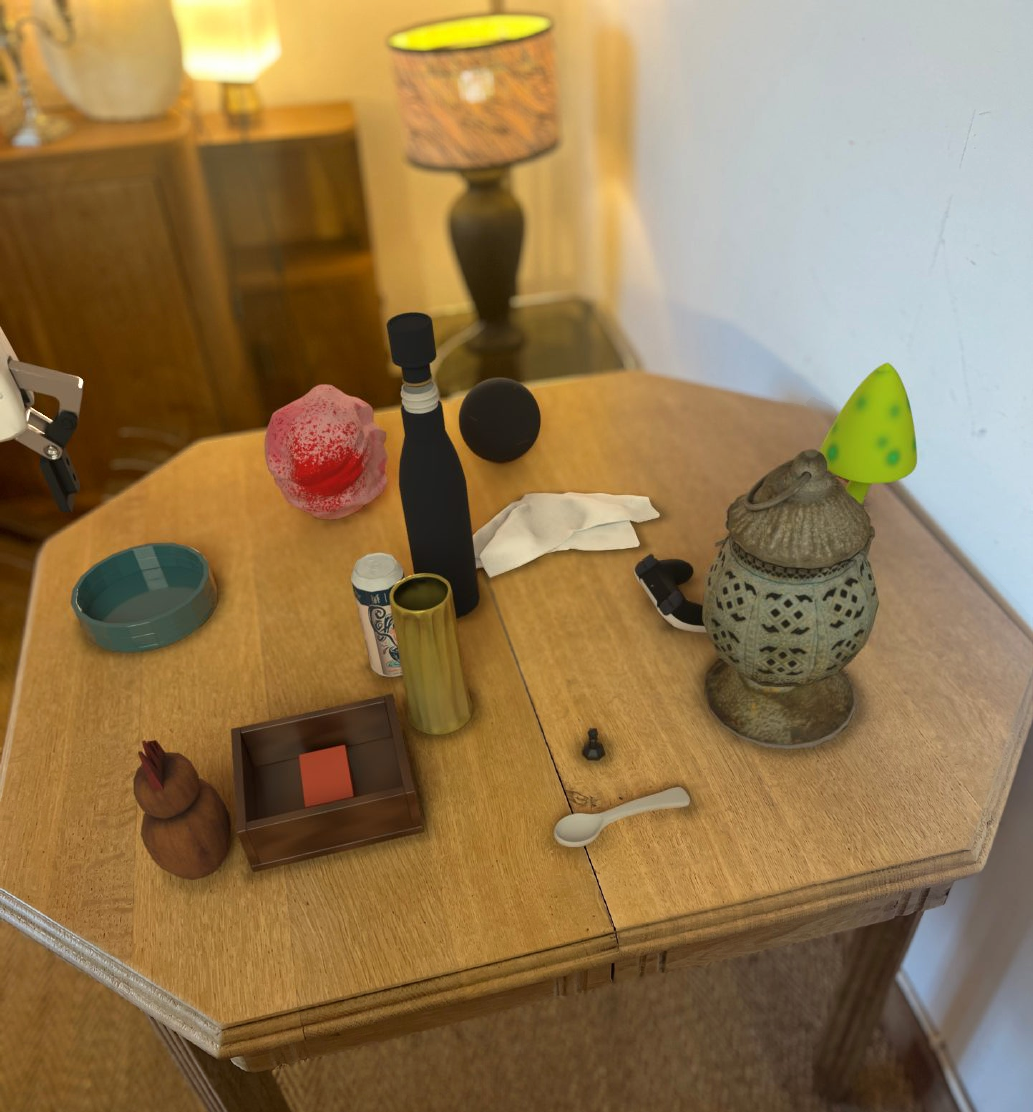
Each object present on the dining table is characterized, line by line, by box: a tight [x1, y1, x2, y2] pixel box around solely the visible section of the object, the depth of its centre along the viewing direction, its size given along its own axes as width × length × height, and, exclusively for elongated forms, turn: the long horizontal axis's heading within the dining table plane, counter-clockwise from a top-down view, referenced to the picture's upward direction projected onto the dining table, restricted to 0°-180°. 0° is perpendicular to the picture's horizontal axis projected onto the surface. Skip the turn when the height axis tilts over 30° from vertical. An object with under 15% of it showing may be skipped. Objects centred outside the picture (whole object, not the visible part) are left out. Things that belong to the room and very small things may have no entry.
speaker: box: [458, 377, 542, 464], centre depth 119 cm, size 10×10×10 cm
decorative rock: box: [264, 383, 389, 520], centre depth 112 cm, size 19×14×15 cm
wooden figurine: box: [132, 739, 231, 881], centre depth 75 cm, size 7×6×15 cm
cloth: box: [472, 491, 661, 579], centre depth 110 cm, size 26×14×2 cm, turn 102°
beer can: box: [350, 552, 406, 678], centre depth 92 cm, size 5×5×12 cm
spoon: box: [553, 786, 691, 848], centre depth 80 cm, size 3×12×2 cm, turn 111°
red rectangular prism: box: [299, 745, 356, 809], centre depth 83 cm, size 6×4×2 cm, turn 14°
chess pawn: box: [581, 727, 606, 762], centre depth 85 cm, size 2×2×3 cm
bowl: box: [70, 542, 219, 653], centre depth 104 cm, size 14×14×4 cm
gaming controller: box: [633, 553, 707, 634], centre depth 98 cm, size 11×4×7 cm
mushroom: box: [819, 362, 918, 506], centre depth 91 cm, size 8×8×25 cm
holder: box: [230, 693, 425, 873], centre depth 82 cm, size 14×12×5 cm
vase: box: [389, 573, 474, 736], centre depth 86 cm, size 6×6×14 cm
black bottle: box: [386, 311, 481, 619], centre depth 92 cm, size 6×6×30 cm
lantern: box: [702, 449, 880, 750], centre depth 81 cm, size 14×14×25 cm
